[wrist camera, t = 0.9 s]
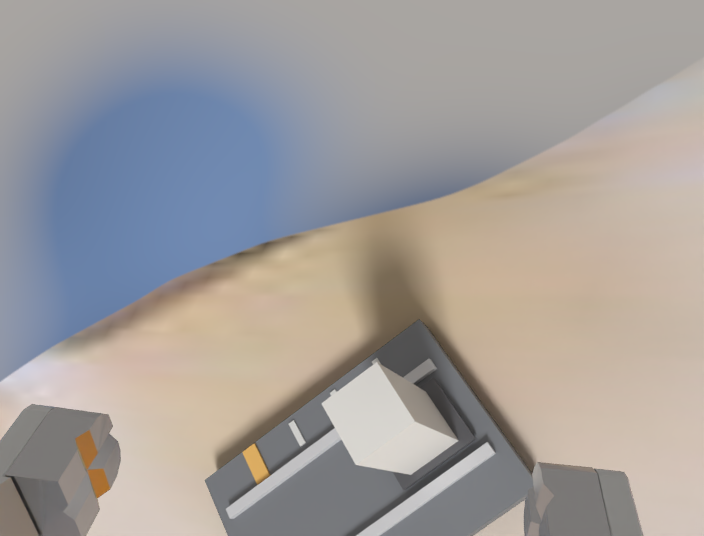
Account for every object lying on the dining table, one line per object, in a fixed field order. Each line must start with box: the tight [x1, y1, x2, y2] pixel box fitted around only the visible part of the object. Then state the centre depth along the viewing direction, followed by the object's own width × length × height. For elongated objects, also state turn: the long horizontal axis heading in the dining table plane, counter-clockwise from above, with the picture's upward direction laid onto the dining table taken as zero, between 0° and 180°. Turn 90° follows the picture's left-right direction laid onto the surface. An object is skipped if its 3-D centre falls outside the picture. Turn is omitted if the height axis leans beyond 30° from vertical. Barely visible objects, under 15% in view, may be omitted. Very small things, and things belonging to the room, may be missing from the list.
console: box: [205, 319, 533, 536], centre depth 45 cm, size 21×14×3 cm, turn 122°
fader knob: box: [321, 362, 476, 490], centre depth 39 cm, size 6×5×10 cm
